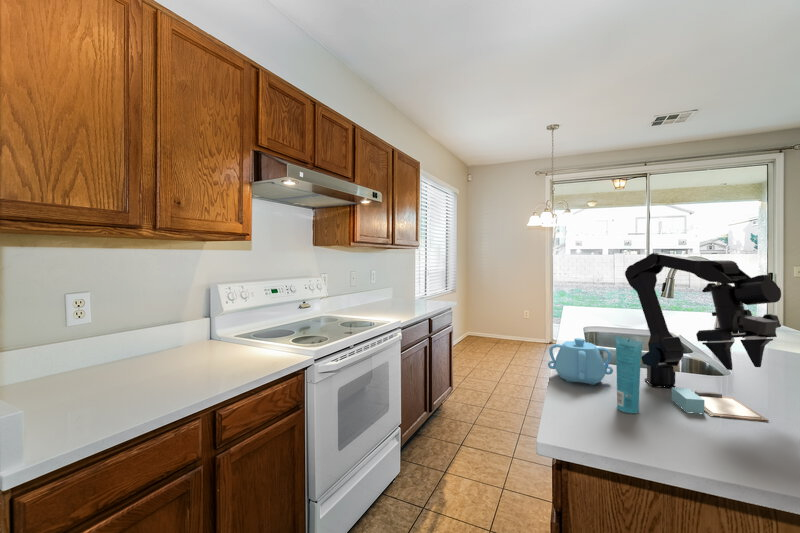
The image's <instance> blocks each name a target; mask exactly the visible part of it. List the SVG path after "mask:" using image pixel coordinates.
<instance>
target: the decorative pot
mask: <svg viewBox="0 0 800 533" xmlns="http://www.w3.org/2000/svg"><path fill="white" fill-rule="evenodd" d="M573 340H574V341H571V340H568V341H564V342H563V343H562V344H559V343H553V344H552V345H551V346H550V347H549V349H548V350H549V351H548V352H549V356H550V359H551V360H549V361H548V363H547V367H548V368H549V369H550V370H555V372H556V373H557V374H558V375H559V377H560V378H561V379H564V380H565V382H566V383H570V384H571V383H572V384H573V383H575V382H576V383H585V384H587V385H591V386H596V385H597V384H598V383H600V382H601V381H602V380H603V379H604V378H605V376H606V375H608V376H609V375H612V374H613V372H614V369H613V368H612V366H610V363H611V360H612V357H613V356H612V352H611V350H609V349H608V348H606V347H603V346H602V347H600V346H599V347H597V345H595V344H594V343H591V342H586V339H584V338H579V337H576V338H574V339H573ZM556 348H559V350H558V352H557V354H556V356H554V349H556ZM601 351H603V352H606V353H607V359H606V361H604V358H603V356H602V355H601ZM551 364H552V365H551ZM607 369H609V371H608V370H607Z"/></svg>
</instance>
